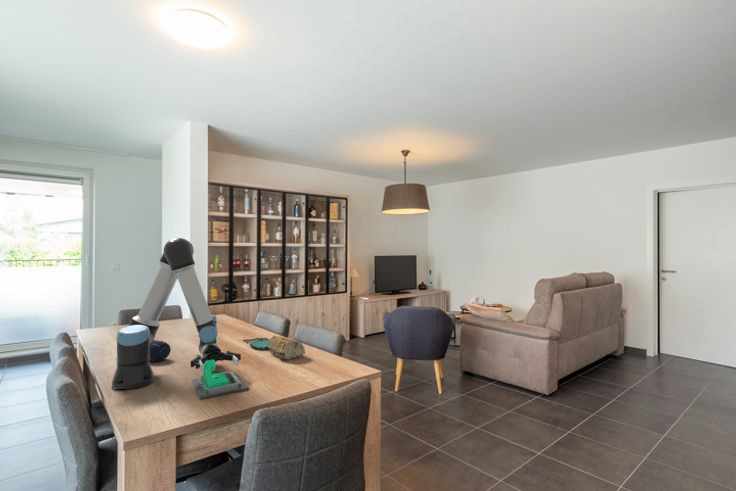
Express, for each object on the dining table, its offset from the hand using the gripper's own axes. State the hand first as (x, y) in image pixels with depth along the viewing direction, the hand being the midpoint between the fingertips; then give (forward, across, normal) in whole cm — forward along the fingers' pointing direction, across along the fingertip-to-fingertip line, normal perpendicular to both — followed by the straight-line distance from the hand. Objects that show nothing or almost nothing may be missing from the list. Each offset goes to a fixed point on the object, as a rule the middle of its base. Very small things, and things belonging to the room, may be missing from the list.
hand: (219, 365), depth 155 cm
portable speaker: (-59, +26, -9) cm, 65 cm away
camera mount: (0, +2, -8) cm, 8 cm away
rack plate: (0, 0, -8) cm, 9 cm away
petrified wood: (-28, -38, -9) cm, 47 cm away
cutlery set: (-58, -35, -9) cm, 68 cm away
